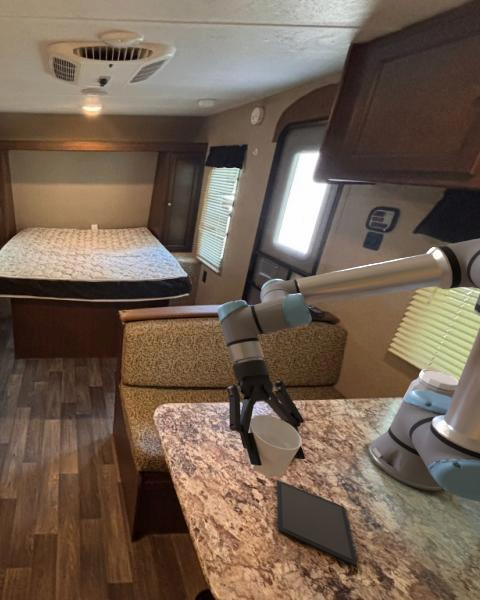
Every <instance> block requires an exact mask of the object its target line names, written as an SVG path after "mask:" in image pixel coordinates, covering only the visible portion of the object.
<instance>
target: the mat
mask: <svg viewBox="0 0 480 600" xmlns="http://www.w3.org/2000/svg"><path fill="white" fill-rule="evenodd" d="M276 488H277V489H276V495H277V499H276V501H277V531H278V532H279V533H281V534H283V535H286V536H288V537H290V538H293V539H295V540H297V541H299V542H301V543H303V544H305V545H308V546H309V547H311V548H313V549H316V550H318V551H321V552H322V553H325V554H327V555H328V556H331V557H333V558H336V559H338V560H339V561H341V562H344V563H346V564H349V565H350V566H353V567H355V568H358V561H357V558H356V553H355V548H354V543H353V539H352V535H351V529H350V526H349V522H348V516H347V513H346V508H345V506H344V505H341V504H338V503H336V502H333V501H331V500H328V499H326V498H324V497H321V496H318V495H316V494H313V493H311V492H309V491H306V490H305V489H301V488H299V487H296V486H293V485H290V484H288V483H286V482H283V481H281V480H279V479H278V480H277V481H276Z"/></svg>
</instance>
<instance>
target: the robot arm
mask: <svg viewBox="0 0 480 600" xmlns="http://www.w3.org/2000/svg"><path fill="white" fill-rule="evenodd" d="M433 287H437V288H439V289H442V290H450V289H451V290H452V289H458V288H469V289H478V290H480V238H475V239H474V238H473V239H469V240H465V241H459V242H454V243H449V244H445V245H439V246H435V247H431V248H430V249H429V250H428V251H427V252H426V253H423V254H417V255H413V256H407V257H403V258H397V259H392V260H387V261H382V262H377V263H371V264H367V265H362V266H356V267H352V268H346V269H341V270H337V271H331V272H326V273H321V274H316V275H311V276H305V277H301V278H296V279H295V278H294V279H289V280H283V279H281V278H273V279H269V280H267V281H266V282H265V283H263V285H262V287H261V290H260V292H259V293H260V295H259V299H260V301H261V302H260V303H257V304H252V305H249V304H248V303H247V301H246V300H243V299H237V300H231V301H228V302H227V301H226V302H225V303H223V304H221V305H219V307H218V308H217V314H218V320H219V325H220V328H221V331H222V334H223V337H224V341H225V345H226V347H227V352H228V355H229V359H230V362H231V363H232V364H233V365H232V370H233V373H234V377H235V380H236V381H237V385H231V386H227V388H226V391H227V394H228V398H229V399H228V402H229V403H228V405H229V409H228V410H229V411H228V412H229V415H228V417H229V418H228V419H229V430H230V431H232V432H236V433H238V434H239V436H240V441H241V444H242V447H243V449H244V450H246V449H247V451H248V455H249V459H250V462H251V465H258V466H260V465H262V463H261V460H260V456H259V453H258V449H257V446H256V442H255V439H254V435H253V433H249V427H250V422H251V419H252V418H253V412H254V407H255V405H256V403H257V402H264V403H265V404H267V405H268V406H269V407H270V408H271V410H272V411H273V412H274V413H275V414H276V416H278V418H279V419H281V420H283V421H285V422H287V423H289V424H290V425H291V426H293V427H294V428H295V429H296V430H297V431H298V432H299V434H300V435H301V433H300V430H299V428H300V427H301V426H302V424H304V422H305V420H304V418H303V416H302V414H301V413H300V411H299V409H298V408H297V406H296V405H295V403H294V401H293V399H292V398H291V396H290V394H289V393H288V391H287V388H286V384H285V382H284V381H283V380H279V381H272V380H271V378H270V371H269V367H268V365H267V364H268V363H267V362H266V360H265V359H264V358H265V353H264V351H263V348H262V345H261V342H260V340H259V337H258V336H260V335H264V334H269V333H273V332H277V331H283V330H288V329H291V328H292V329H295V328H298V327H301V326H304V325H307V324H310V323H311V322H312V320H313V316H312V315H311V312H310V309H309V307H308V306H313V305H320V304H327V303H333V302H334V303H335V302H339V301H346V300H353V299H359V298H367V297H373V296H378V295H387V294H392V293H400V292H407V291H412V290H413V291H414V290H419V289H427V288H433ZM473 311H474V313H476V314H477V316H478V317H480V293H479V294H478V297H477V300H476V302H475V305H474V309H473ZM458 381H459V382H458V385H457V387H456V390H455V392H454V395H453V398H450V397H448V396H445V395H441V394H438V393H434V392H430V391H424V390H414V391H411V392H409V393H408V394H407V396H406V397H405V398H404V399H403V398H402V399H403V402H402V404H401V406H400V408H399V410H398V412H396V414H395V416H394V418H393V420H392V422H391V424H390V426H389V428H388V429H387V430H386V431H384V432H383V433H382V434H380V435H379V436H378V437H376V438H375V439H373V440H372V441H371V442H370V443H369V446H368V448H367V453H368V455H369V457H370V459H371V461H373V463H374V464H375V465H376V466H377V467H378V468H379V469H380V470H381V471H382V472H384V473H385V474H387V475H388V476H390V477H391V478H393V479H395V480H397V481H398V482H401V483H402V484H404V485H406V486H409V487H412V488H415V489H417V490H421V491H425V492H439V491H441V490H442V489H443V490H444V491H446V492H447V493H449V494H451V495H453V496H456V497H458V498H461V499H465V500H469V501H474V502H480V327H479V328H478V331H477V333H476V336H475V338H474V341H473V344H472V346H471V349H470V352H469V354H468V356H467V359H466V361H465V364H464V366H463V370H462V372H461V374H460V377H459V379H458ZM241 394H243V395H242V399H241ZM241 404H242V405H241ZM303 449H304V448H303V446H302V445H301V446H300V448H299V449H298V451H297V453H296V454H295V456H294V458H293V459H296V460H306V455H305V453H304V452H305V451H304V450H303ZM251 465H250V466H251Z"/></svg>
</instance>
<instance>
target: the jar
mask: <svg viewBox="0 0 480 600" xmlns="http://www.w3.org/2000/svg"><path fill="white" fill-rule="evenodd" d="M458 382H459V379H457V378H456V377H454V376H452V375H451V374H449V373H446V372H444V371H440V370H436V369H431V368H423V369H422V370H421V371H420V372H419V374H418V376H417V378H416V379H414V380H412V381H411V382H410V384H409V386H408V388H407V390H406V392H405V394H404V396H403V397H402V399H401V402H399V405H398V407H397V408H396V410H395V412H396V413H397V412H398V410H399V408H400V406H401V404H402V402H403V399H404V398H405V397H406V396H407V394H408V393H409V392H411V391H414V390H424V391H430V392H434V393H438V394H441V395H445V396H448V397H450V398H453V395H454V392H455V390H456V387H457V385H458Z"/></svg>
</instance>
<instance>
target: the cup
mask: <svg viewBox="0 0 480 600" xmlns="http://www.w3.org/2000/svg"><path fill="white" fill-rule="evenodd" d="M248 433H253V435H254V439H255V442H256V446H257V449H258V453H259V456H260V460H261V463H262V465H260V466H258V465H251V462H250V459H249V455H248V451H247V449H245V453H244V460H246V461H247V463H249V465H250V466H251V470H252V471H254V472H257V473H259V474H261V475H263V476H265V477H266V479H270V478H276V477H277V478H281V479H283V477H284V475H285V474H286V471H287V470H288V468H289V465H290V464H291V462H292V461H293V459H295V458H294V456H295V454H296V453H297V451H298V449H299V448H300V446H302V443H303V440H302V439H303V438H302V437H301V436H302V435H301V433H300V431H299V432H298V431H297V430H296V429H295V428H294V427H293V426H291V425H290V424H289V423H287V422H285V421H283V420H281V419H280V417H276V416H273V415H267V414H258V415H254V417H253V416H252V417H251V422H250V427H249V432H248ZM299 433H300V434H299Z"/></svg>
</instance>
